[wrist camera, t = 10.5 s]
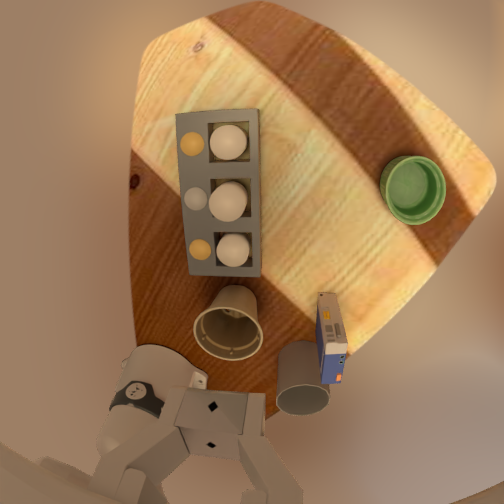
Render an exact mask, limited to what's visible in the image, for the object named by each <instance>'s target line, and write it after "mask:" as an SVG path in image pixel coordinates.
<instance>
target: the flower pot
mask: <svg viewBox="0 0 504 504" xmlns="http://www.w3.org/2000/svg"><path fill="white" fill-rule="evenodd" d="M225 309H228V310H230V312H227V311H226V310H225ZM193 329H194V330H193V331H194V336H195V339H196V341H197V343H198V344H199V345H200V346H201V348H202V349H204V350H205V351H206V352H208V353H209V354H211V355H213V356H215V357H217V358H220V359H224V360H230V361H235V360H242V359H245V358H248V357H250V356H252V355H254V354H255V353H256V352H257V351H258V350H259V349H260V347H261V345H262V342H263V332H262V329H261V326H260V325H259V323H258V316H257V301H256V297H255V295H254V294H253V292H252V291H251V290H249V289H248V288H246V287H244V286H241V285H229V286H226V287H224V288H223V289H222V290H221V291H220V292H219V293H218V295H217V297H216V298H215V300H214V301H213V303H212V304H211V305H210V307H209V308H208V309H206V310H205V311H203V312H202V313H201V314H200V315H199V316H198V317H197V319H196V320H195V323H194V328H193Z"/></svg>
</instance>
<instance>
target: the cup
mask: <svg viewBox="0 0 504 504" xmlns="http://www.w3.org/2000/svg"><path fill="white" fill-rule="evenodd" d="M329 401H330V389H329V384H321V377H320V367H319V358H318V349H317V344H316V343H314V342H310V341H304V340H303V341H297V342H292V343H290V344H288V345H287V346H285V347H283V349H282V350H281V351H280V353H279V357H278V379H277V400H276V405H277V406H278V407H279V409H280V410H281V411H283V412H285V413H287V414H290V415H296V416H305V415H312V414H315V413H317V412H320V411H322V410H323V409H324V408H325V407H326V406H327V405H328V404H329Z"/></svg>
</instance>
